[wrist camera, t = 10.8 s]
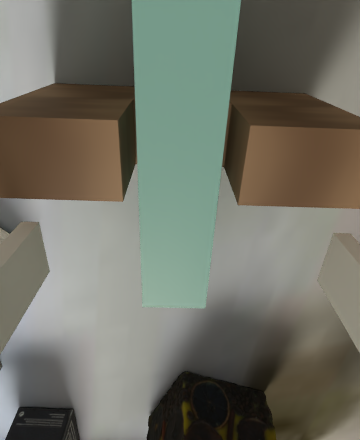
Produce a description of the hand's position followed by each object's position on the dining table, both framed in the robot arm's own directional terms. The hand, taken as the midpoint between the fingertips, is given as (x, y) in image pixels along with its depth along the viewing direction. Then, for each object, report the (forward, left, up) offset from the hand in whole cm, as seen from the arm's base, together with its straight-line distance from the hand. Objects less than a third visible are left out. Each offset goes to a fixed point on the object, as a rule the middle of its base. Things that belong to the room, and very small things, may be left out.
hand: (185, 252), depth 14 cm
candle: (-4, +27, -7) cm, 28 cm away
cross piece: (0, -4, -7) cm, 8 cm away
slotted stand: (0, -4, -7) cm, 8 cm away
